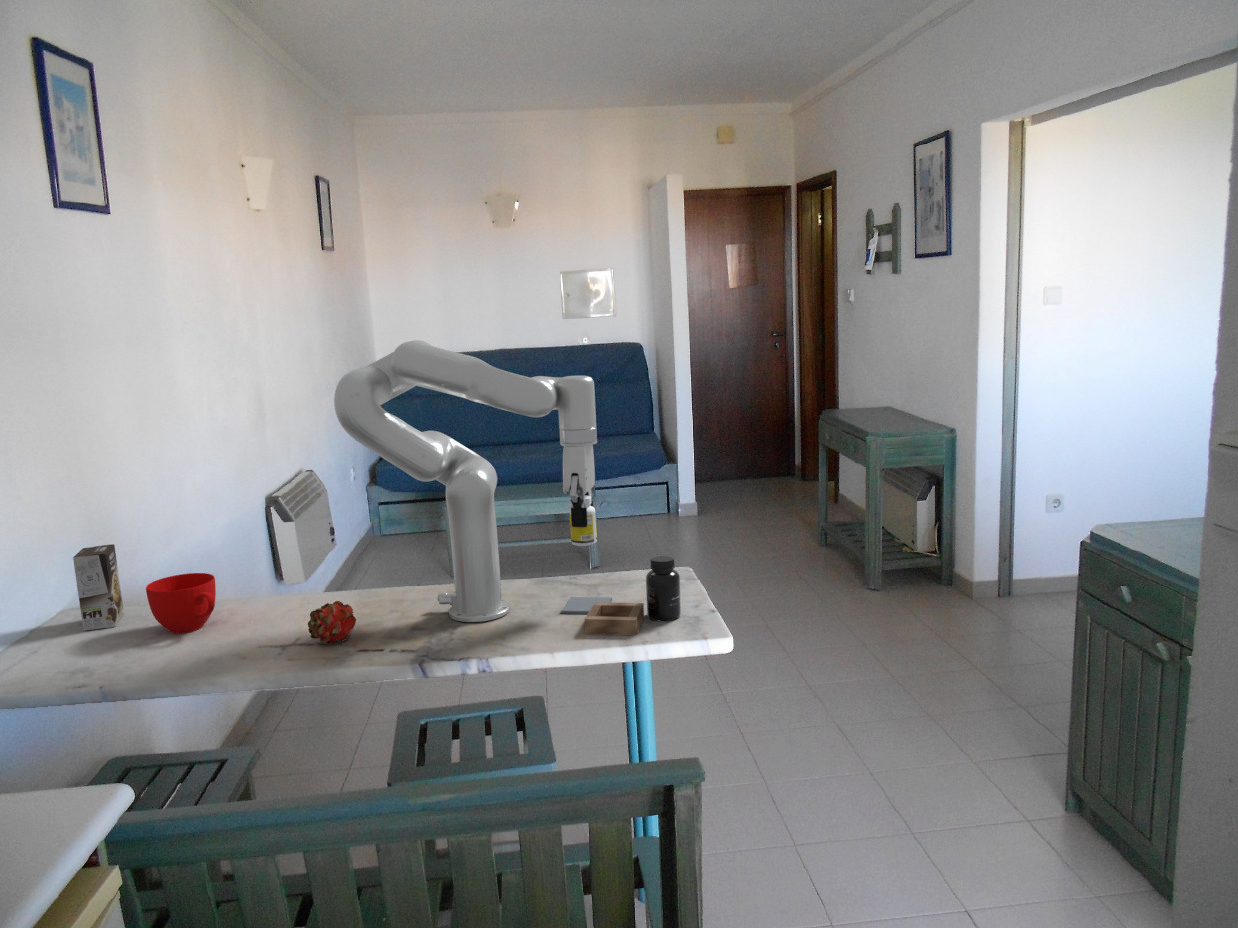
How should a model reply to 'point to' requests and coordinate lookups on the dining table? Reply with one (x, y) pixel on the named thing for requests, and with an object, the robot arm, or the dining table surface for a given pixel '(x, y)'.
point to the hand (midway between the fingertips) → (582, 522)
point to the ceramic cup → (182, 601)
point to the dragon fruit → (331, 622)
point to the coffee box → (98, 587)
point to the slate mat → (583, 604)
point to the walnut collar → (614, 618)
